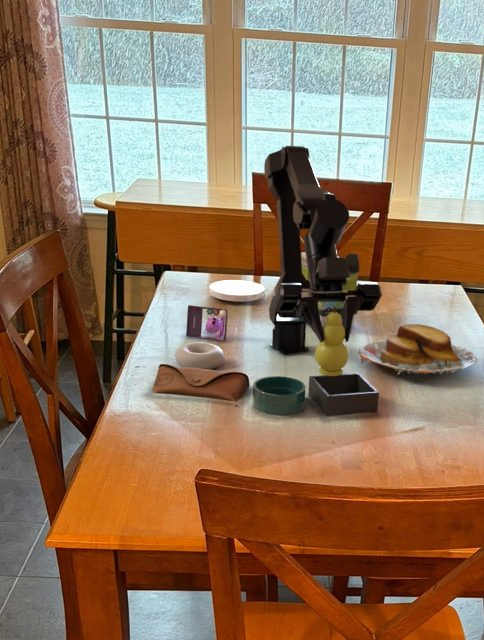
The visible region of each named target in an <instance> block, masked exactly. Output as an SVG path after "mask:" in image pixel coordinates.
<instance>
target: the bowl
mask: <svg viewBox="0 0 484 640" xmlns="http://www.w3.org/2000/svg"><path fill="white" fill-rule="evenodd" d="M306 387H307V386H306V385H305V383H304V382H302V381H301V380H299V379H297V378H294V377H289V376H281V375H274V376H265V377H261V378H258V379H256V380H255V381H254V382H253V384H252V406H253V407H254V408H255V409H256V410H257V411H259V412H261V413H264V414H268V415H276V416H289V415H293V414H297V413H300V412H302V411H303V410H304V409H305V406H306V390H307V389H306Z"/></svg>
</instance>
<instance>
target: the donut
mask: <svg viewBox="0 0 484 640" xmlns="http://www.w3.org/2000/svg"><path fill="white" fill-rule="evenodd" d="M174 358H175V361H176V363H177V364H178V365H179V366H180V367H188V368H198V369H207V370H214V369H216V368H218V367H219V366H221V365H222V364H223V361H224V360H225V354H224V352H223V349H221V348H220V346H218V345H215V344H212V343H209V342H203V341H202V342H201V341H199V342H198V341H197V342H188V343H185V344H182V345H180V346H179V347H178V348H177V349H176V350H175V352H174Z"/></svg>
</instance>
